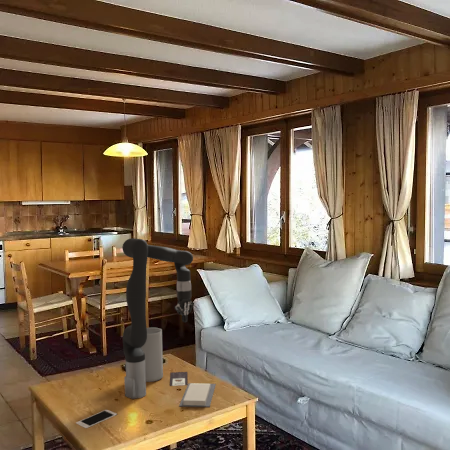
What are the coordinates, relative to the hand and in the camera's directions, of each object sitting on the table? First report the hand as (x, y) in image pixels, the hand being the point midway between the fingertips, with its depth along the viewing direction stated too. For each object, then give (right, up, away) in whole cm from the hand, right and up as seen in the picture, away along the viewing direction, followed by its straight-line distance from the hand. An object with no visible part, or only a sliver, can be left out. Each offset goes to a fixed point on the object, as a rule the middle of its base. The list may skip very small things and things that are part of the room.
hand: (184, 321), depth 260 cm
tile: (+9, -28, -16) cm, 34 cm away
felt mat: (+8, -31, -23) cm, 39 cm away
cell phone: (-34, -34, -46) cm, 66 cm away
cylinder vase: (-18, -30, 0) cm, 35 cm away
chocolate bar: (-3, -30, -3) cm, 30 cm away
